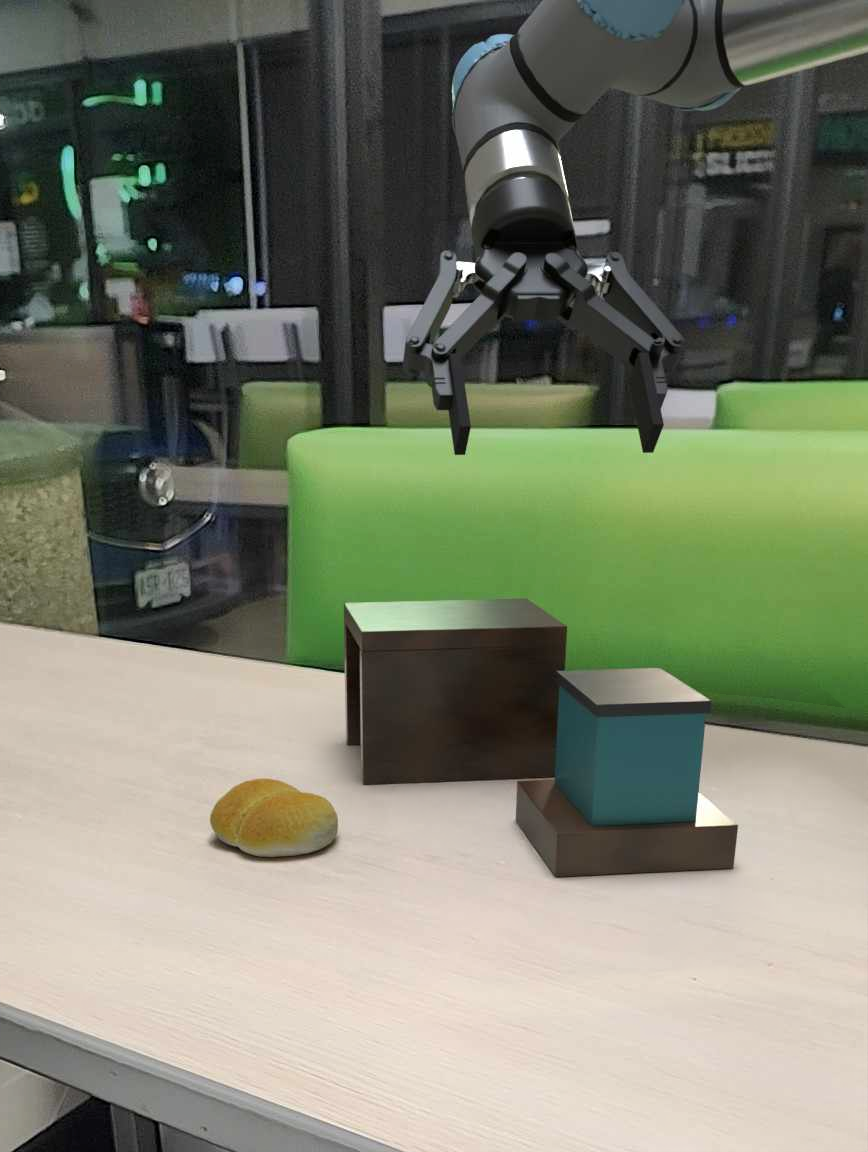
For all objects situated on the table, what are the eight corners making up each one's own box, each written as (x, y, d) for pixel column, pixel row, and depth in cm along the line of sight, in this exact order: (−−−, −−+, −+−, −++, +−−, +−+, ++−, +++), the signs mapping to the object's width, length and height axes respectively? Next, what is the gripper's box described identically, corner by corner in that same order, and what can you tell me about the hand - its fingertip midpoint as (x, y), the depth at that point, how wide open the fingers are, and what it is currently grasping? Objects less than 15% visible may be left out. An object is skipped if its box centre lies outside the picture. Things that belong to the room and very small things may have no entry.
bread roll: (273, 869, 87) (271, 811, 86) (193, 837, 93) (190, 783, 92) (365, 840, 93) (365, 785, 91) (284, 813, 99) (282, 760, 97)
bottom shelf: (674, 813, 98) (678, 774, 97) (733, 868, 87) (738, 824, 86) (515, 820, 97) (516, 780, 95) (555, 877, 86) (557, 833, 85)
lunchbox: (651, 778, 96) (659, 667, 93) (700, 822, 86) (711, 700, 83) (550, 782, 95) (556, 670, 92) (589, 827, 86) (596, 704, 82)
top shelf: (521, 734, 120) (527, 598, 115) (559, 776, 107) (567, 625, 102) (345, 740, 118) (343, 602, 113) (363, 784, 105) (361, 631, 100)
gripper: (665, 260, 105) (714, 475, 97) (352, 259, 102) (376, 480, 95) (694, 173, 98) (749, 398, 90) (359, 169, 95) (386, 400, 88)
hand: (558, 440), depth 92 cm, fingers open, 13 cm apart
